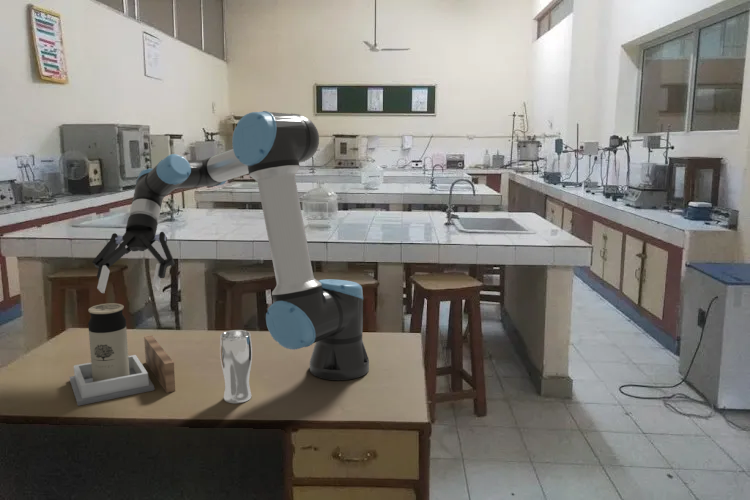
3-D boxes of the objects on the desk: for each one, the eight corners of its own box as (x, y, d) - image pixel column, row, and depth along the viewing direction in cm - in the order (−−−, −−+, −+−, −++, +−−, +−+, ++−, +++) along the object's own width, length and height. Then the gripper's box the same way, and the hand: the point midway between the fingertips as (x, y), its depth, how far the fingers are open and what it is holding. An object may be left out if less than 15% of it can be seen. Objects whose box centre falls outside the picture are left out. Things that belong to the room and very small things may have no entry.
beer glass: (233, 389, 138) (231, 327, 135) (259, 394, 135) (257, 331, 132) (215, 401, 131) (212, 337, 128) (241, 406, 129) (239, 341, 126)
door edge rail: (175, 390, 136) (173, 362, 135) (166, 392, 135) (164, 364, 134) (153, 361, 155) (152, 335, 153) (145, 362, 153) (144, 336, 152)
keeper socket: (154, 390, 137) (153, 373, 136) (77, 405, 128) (76, 388, 127) (140, 367, 150) (139, 352, 149) (69, 380, 141) (68, 364, 141)
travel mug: (106, 373, 144) (101, 301, 140) (136, 375, 142) (131, 303, 139) (85, 386, 136) (79, 311, 133) (117, 389, 135) (111, 313, 131)
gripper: (193, 226, 161) (182, 294, 150) (102, 229, 161) (84, 298, 150) (185, 210, 155) (173, 280, 144) (90, 213, 155) (71, 284, 144)
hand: (128, 289), depth 147 cm, fingers open, 13 cm apart
